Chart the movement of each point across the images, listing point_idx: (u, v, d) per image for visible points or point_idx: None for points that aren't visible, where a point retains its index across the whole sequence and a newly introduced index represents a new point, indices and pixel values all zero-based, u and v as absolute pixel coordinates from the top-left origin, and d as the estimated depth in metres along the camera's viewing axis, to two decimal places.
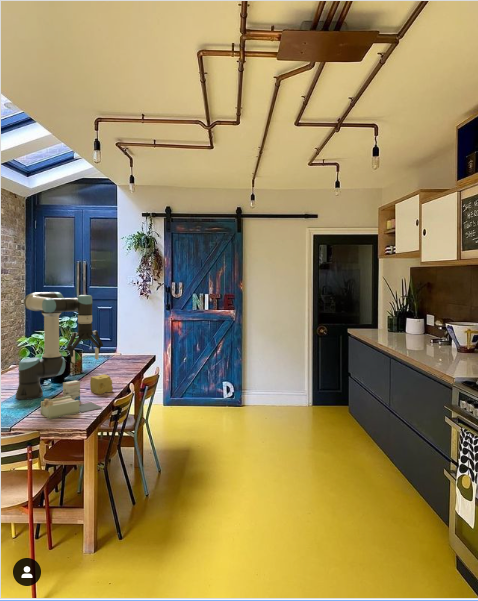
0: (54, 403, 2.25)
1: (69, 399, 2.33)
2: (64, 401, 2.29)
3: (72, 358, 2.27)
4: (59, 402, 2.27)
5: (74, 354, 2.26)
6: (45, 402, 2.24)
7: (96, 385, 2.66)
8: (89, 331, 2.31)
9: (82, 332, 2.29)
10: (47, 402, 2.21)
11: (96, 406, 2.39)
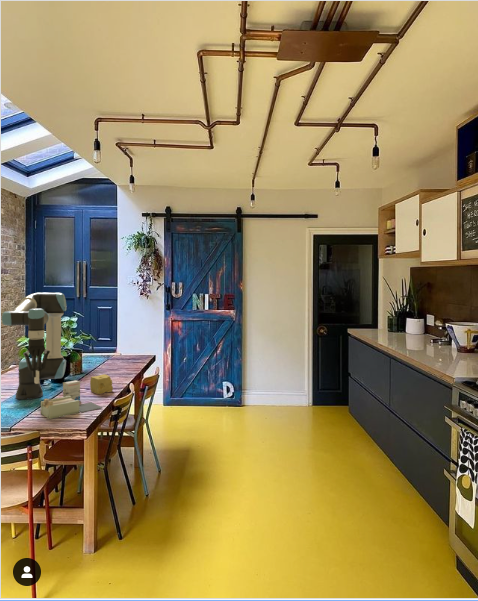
0: (54, 403, 2.25)
1: (69, 399, 2.33)
2: (64, 401, 2.29)
3: (35, 379, 2.17)
4: (59, 402, 2.27)
5: (37, 375, 2.16)
6: (45, 402, 2.24)
7: (96, 385, 2.66)
8: (42, 346, 2.18)
9: (31, 347, 2.14)
10: (47, 402, 2.21)
11: (96, 406, 2.39)
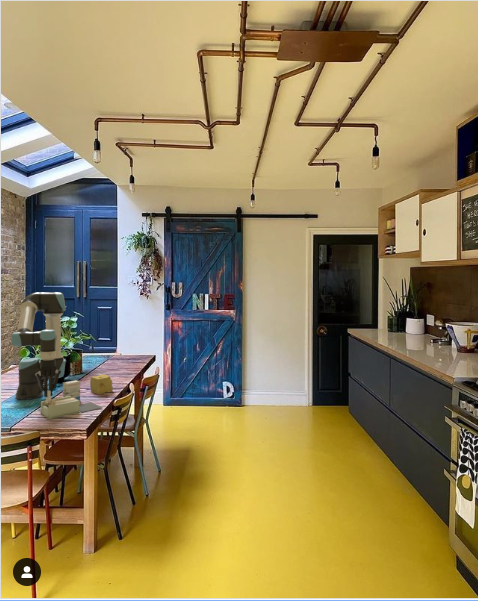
0: (57, 402, 2.26)
1: (72, 399, 2.34)
2: (67, 400, 2.30)
3: (46, 398, 2.22)
4: (62, 401, 2.28)
5: (48, 394, 2.21)
6: None
7: (96, 385, 2.66)
8: (54, 366, 2.23)
9: (43, 368, 2.19)
10: None
11: (96, 406, 2.39)
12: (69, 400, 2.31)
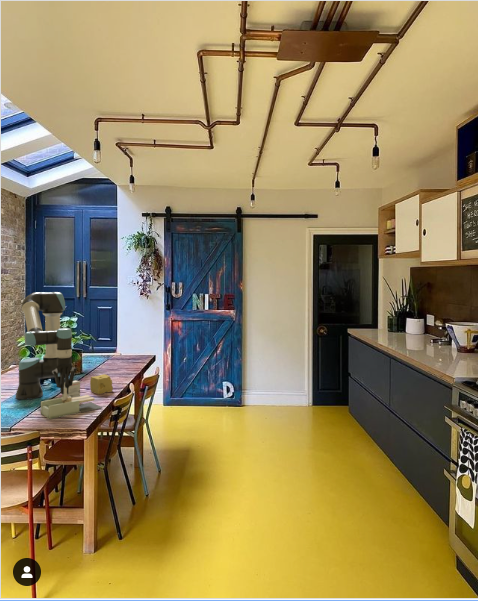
0: (72, 399, 2.32)
1: (86, 396, 2.40)
2: (82, 398, 2.36)
3: (63, 395, 2.28)
4: (77, 398, 2.34)
5: (65, 391, 2.27)
6: None
7: (96, 385, 2.66)
8: (70, 364, 2.29)
9: (60, 366, 2.25)
10: None
11: (96, 406, 2.39)
12: (84, 397, 2.37)
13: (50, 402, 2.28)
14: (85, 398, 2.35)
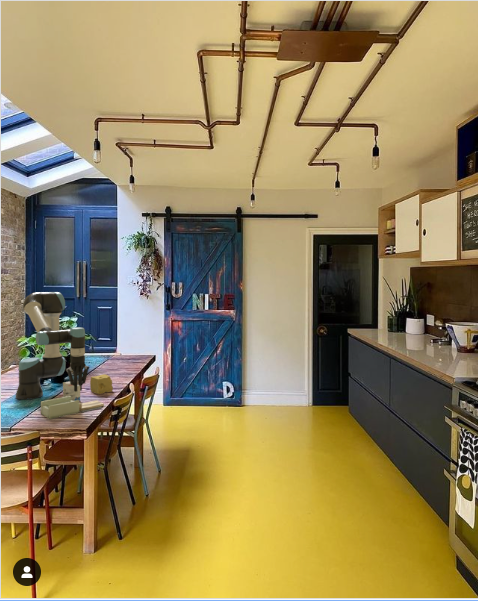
0: (82, 405, 2.36)
1: (96, 401, 2.44)
2: (91, 403, 2.40)
3: (76, 393, 2.33)
4: (87, 404, 2.38)
5: (78, 389, 2.33)
6: None
7: (96, 385, 2.66)
8: (83, 362, 2.34)
9: (73, 364, 2.30)
10: None
11: None
12: (94, 403, 2.41)
13: (50, 402, 2.28)
14: (95, 404, 2.40)
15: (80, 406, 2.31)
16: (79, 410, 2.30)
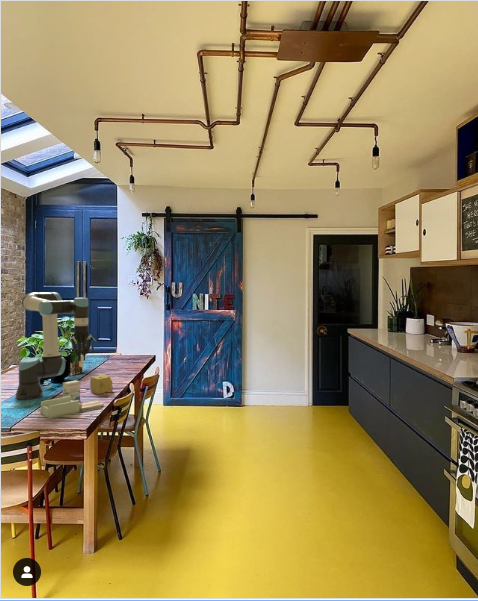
0: (82, 405, 2.36)
1: (96, 401, 2.44)
2: (91, 403, 2.40)
3: (80, 363, 2.34)
4: (87, 404, 2.38)
5: (82, 359, 2.33)
6: None
7: (96, 385, 2.66)
8: (87, 332, 2.35)
9: (77, 333, 2.31)
10: None
11: None
12: (94, 403, 2.41)
13: (50, 402, 2.28)
14: (95, 404, 2.40)
15: (80, 406, 2.31)
16: (79, 410, 2.30)
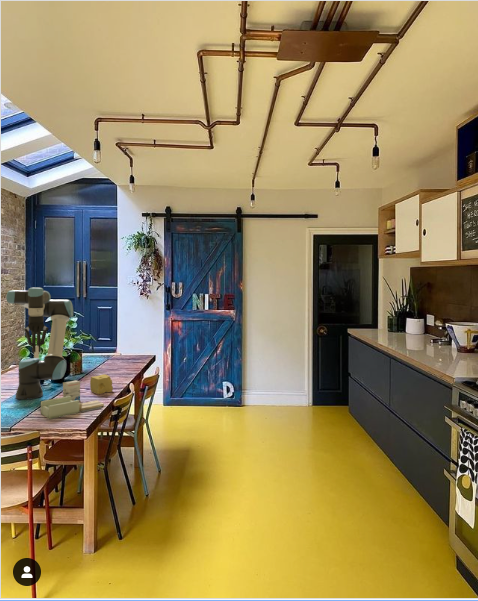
0: (82, 405, 2.36)
1: (96, 401, 2.44)
2: (91, 403, 2.40)
3: (35, 353, 2.31)
4: (87, 404, 2.38)
5: (36, 350, 2.30)
6: None
7: (96, 385, 2.66)
8: (42, 323, 2.32)
9: (31, 324, 2.28)
10: None
11: None
12: (94, 403, 2.41)
13: (50, 402, 2.28)
14: (95, 404, 2.40)
15: (80, 406, 2.31)
16: (79, 410, 2.30)
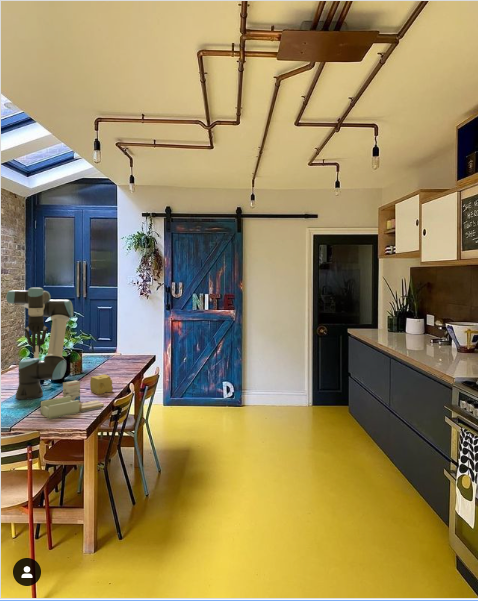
0: (82, 405, 2.36)
1: (96, 401, 2.44)
2: (91, 403, 2.40)
3: (34, 353, 2.31)
4: (87, 404, 2.38)
5: (36, 350, 2.30)
6: None
7: (96, 385, 2.66)
8: (42, 323, 2.32)
9: (31, 324, 2.28)
10: None
11: None
12: (94, 403, 2.41)
13: (50, 402, 2.28)
14: (95, 404, 2.40)
15: (80, 406, 2.31)
16: (79, 410, 2.30)
